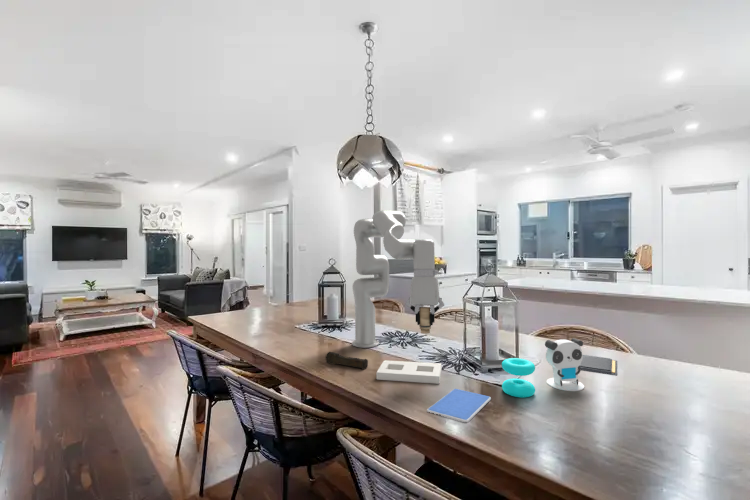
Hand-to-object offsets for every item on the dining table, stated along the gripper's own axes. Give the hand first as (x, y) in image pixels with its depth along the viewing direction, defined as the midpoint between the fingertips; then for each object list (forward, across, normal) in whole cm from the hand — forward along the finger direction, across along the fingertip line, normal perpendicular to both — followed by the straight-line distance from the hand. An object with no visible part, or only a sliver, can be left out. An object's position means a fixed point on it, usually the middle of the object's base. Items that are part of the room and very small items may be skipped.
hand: (425, 323), depth 137 cm
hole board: (+19, +6, 0) cm, 20 cm away
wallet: (+20, -63, -24) cm, 71 cm away
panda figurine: (+19, -46, 0) cm, 50 cm away
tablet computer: (+20, -12, +22) cm, 32 cm away
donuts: (+19, -30, +10) cm, 37 cm away
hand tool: (+19, +32, -6) cm, 38 cm away
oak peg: (+3, 0, 0) cm, 3 cm away
